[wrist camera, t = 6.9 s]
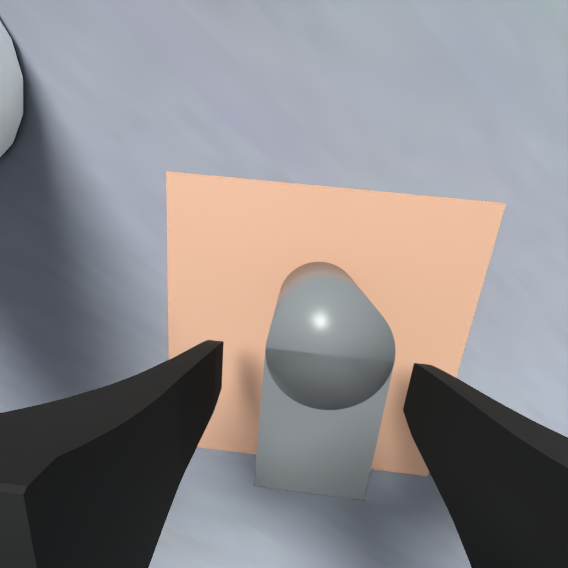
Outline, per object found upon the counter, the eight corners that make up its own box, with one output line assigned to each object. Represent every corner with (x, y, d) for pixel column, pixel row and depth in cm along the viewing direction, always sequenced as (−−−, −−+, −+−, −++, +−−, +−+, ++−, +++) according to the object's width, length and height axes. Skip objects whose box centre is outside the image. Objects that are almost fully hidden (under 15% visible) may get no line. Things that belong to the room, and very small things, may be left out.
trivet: (173, 436, 15) (169, 443, 15) (171, 173, 12) (166, 171, 11) (423, 467, 15) (427, 476, 14) (497, 203, 11) (506, 203, 11)
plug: (267, 423, 14) (249, 531, 9) (282, 257, 12) (270, 286, 7) (335, 432, 14) (354, 545, 9) (364, 265, 12) (407, 300, 7)
